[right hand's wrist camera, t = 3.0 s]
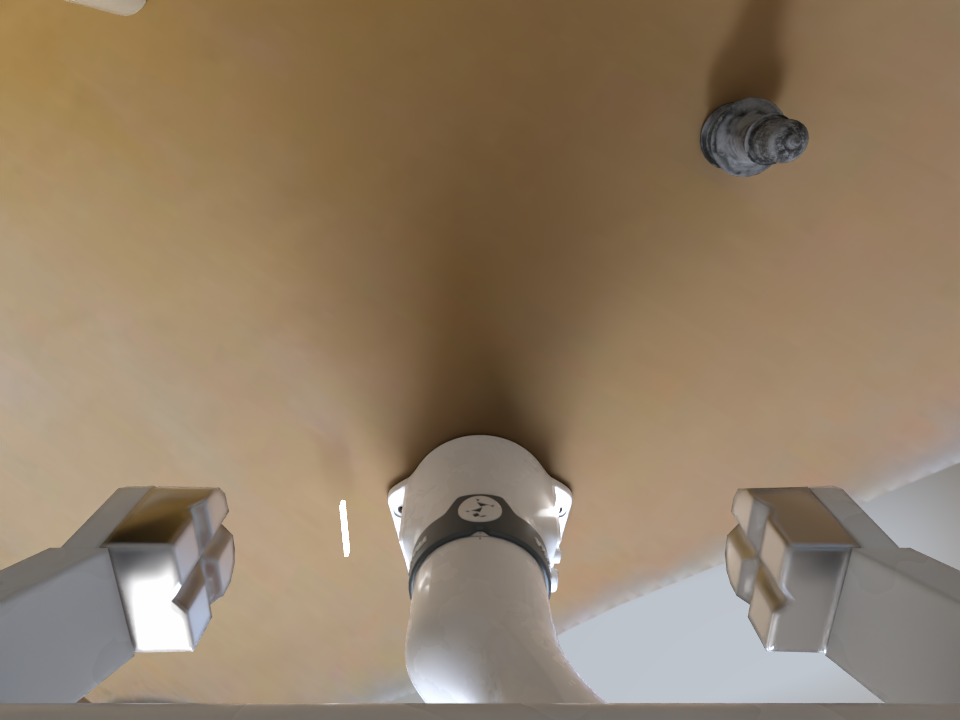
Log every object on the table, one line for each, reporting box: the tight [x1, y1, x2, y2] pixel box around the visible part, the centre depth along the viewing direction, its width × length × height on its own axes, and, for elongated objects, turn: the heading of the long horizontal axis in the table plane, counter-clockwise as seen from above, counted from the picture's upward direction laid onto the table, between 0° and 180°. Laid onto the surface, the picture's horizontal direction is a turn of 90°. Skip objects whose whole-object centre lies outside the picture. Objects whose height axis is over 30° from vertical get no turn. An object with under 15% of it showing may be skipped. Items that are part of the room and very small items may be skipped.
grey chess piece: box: [700, 97, 809, 177], centre depth 48 cm, size 6×6×12 cm
